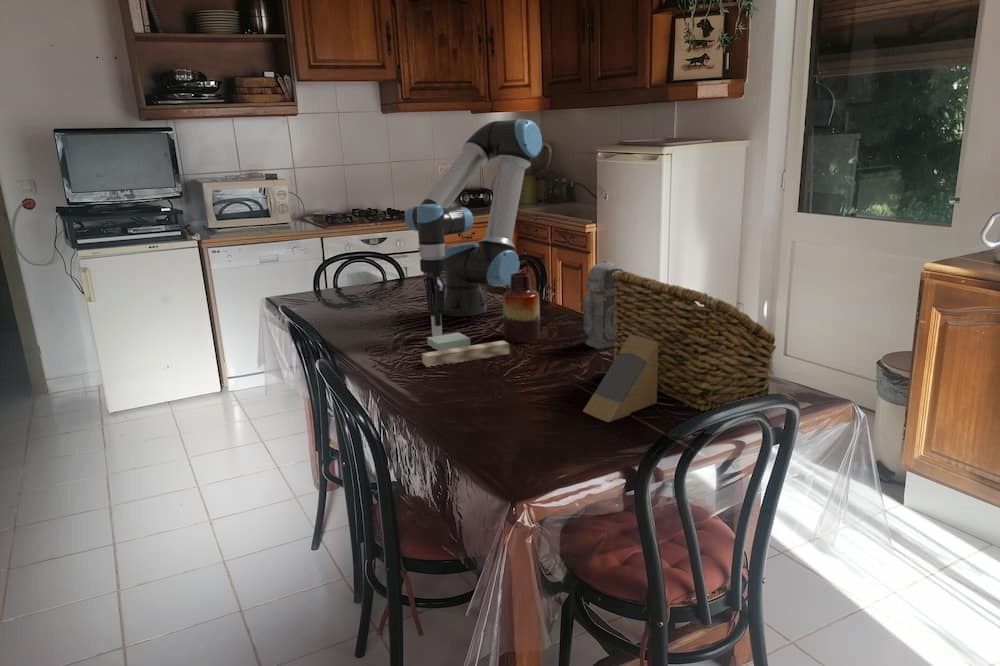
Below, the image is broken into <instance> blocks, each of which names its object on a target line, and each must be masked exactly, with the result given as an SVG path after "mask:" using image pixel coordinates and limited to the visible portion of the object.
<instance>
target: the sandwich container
mask: <svg viewBox="0 0 1000 666" xmlns="http://www.w3.org/2000/svg"><path fill="white" fill-rule="evenodd" d="M658 344H659V343H658V342H657V341H653V340H650V339H646V338H643V337H639V336H635V335H631V334H630V335H629V336H628V338H627V340H626V341H625V343H624V345H623V347H622V349H621V350H620V352H619V354H618V355H617V357H616V359H615V360H614V359H613V362H612V363H611V365H610V367H609V369H608V370H607V371H606V373H605V375H604V377H603V378H602V379H601V381H600V383H599V385H598V386H597V388H596V389H595V391H594V393H593V394H592V396H591V398H590V399H589V400H588V402H587V403H586V405H585V406H584V409H583V410H582V412H583V413H585V414H588V415H590V416H592V417H594V418H596V419H599V420H602V421H604V422H607V423H610V422H613V421H616V420H619V419H621V418H624V417H628V416H630V415H632V413H633V412H636V411H638V410H642V409H644V408H646V407H650V406H652V405H655V404H657V401H658V395H657V394H658V390H657V378H658Z"/></svg>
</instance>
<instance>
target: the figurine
mask: <svg viewBox="0 0 1000 666" xmlns="http://www.w3.org/2000/svg"><path fill="white" fill-rule="evenodd" d="M615 271H622V272H623V271H624V270H623V268H622V267H621V266H620V264H617V263H614V262H611V261H609V260H607V259H606V260H604V261H603V262H600V263H597V264H595V265H593V266H592V267H591V268H590V269H589V272H588V276H587V281H586V284H585V288H586V289H588V294H587V295H585V296H584V297H583V299H582V307H583V308H582V309H583V326H582V329H583V330H584V332H585V334H587V335H588V338H587V339H586V340H585V345H587V346H589V347H590V348H593V347H594V349H596V350H601V349H604V348H605V349H606V348H611V347H615V346H614V344H615V341H616V339H615V336H616V335H615V327H616V326H615V318H616V317H615V312H616V308H615V304H614V302H615V300H614V299H615V296H617V295H615V292H614V289H615V288H616V287H615V286H614V284H615V282H616V281H614V280H613V279H612V273H613V272H615Z"/></svg>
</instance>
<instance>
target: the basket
mask: <svg viewBox="0 0 1000 666" xmlns="http://www.w3.org/2000/svg"><path fill="white" fill-rule="evenodd" d="M612 279H613V280H614V281H616V282H615V284H614V286H615V287H616V288H615V289H614V292H615V295H617V296H615V299H614V300H615V302H614V304H615V308H616V312H615V317H616V318H615V326H616V327H615V335H616V336H615V339H616V341H615V344H614V346H613V347H615V348H614V350H613V354H614V355H613V356H614V357H613V361H614V360H615V359H616V357H617V355H618V354H619V352H620V350H621V349H622V347H623V345H624V343H625V341H626V340H627V338H628V336H629V335H630V334H631V335H635V336H639V337H643V338H646V339H650V340H653V341H657V342H658V343H659V344H658V378H657V392H660V393H661V394H665V395H666V396H668V397H672V398H673V399H676V400H677V401H680V402H682V403H684V404H685V405H687V406H689V407H690V408H693V409H695V410H700V411H702V412H704V411H705V410H708V409H710V410H711V408H715V407H718V406H721V405H724V404H727V403H730V402H734V401H737V400H741V399H745V398H750V397H755V396H761V395H765V394H767V395H768V394H769V392H770V389H769V388H770V381H769V379H770V373H769V371H770V370H771V366H770V365H771V364H772V362H771V359H772V358H773V356H772V354H773V353H774V352H775V350H776V348H777V345H775V342H776V337H775V335H774V333H772V331H770V330H768V329H767V328H765V327H764V325H762V324H760V323H759V322H757V321H755V320H753V319H752V318H751V316H749V315H748V314H746V313H744V312H743V311H740V310H739V309H737V307H736V306H734V305H733V304H731V303H728V302H726V301H724V300H722V298H721V299H720V298H716V297H713V296H712V295H709V294H708V293H707V292H701V291H698V290H695V289H690V288H688V287H687V288H686V287H682V286H681V285H676V284H669V283H665V282H661V281H658V280H657V279H653V278H650V277H649V278H648V277H644V276H641V275H638V274H635V273H632V272H631V271H624V270H623V272H622V271H615V272H613V273H612ZM698 304H699V305H698ZM701 305H702V306H701ZM765 396H766V395H765ZM705 412H706V411H705Z"/></svg>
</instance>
